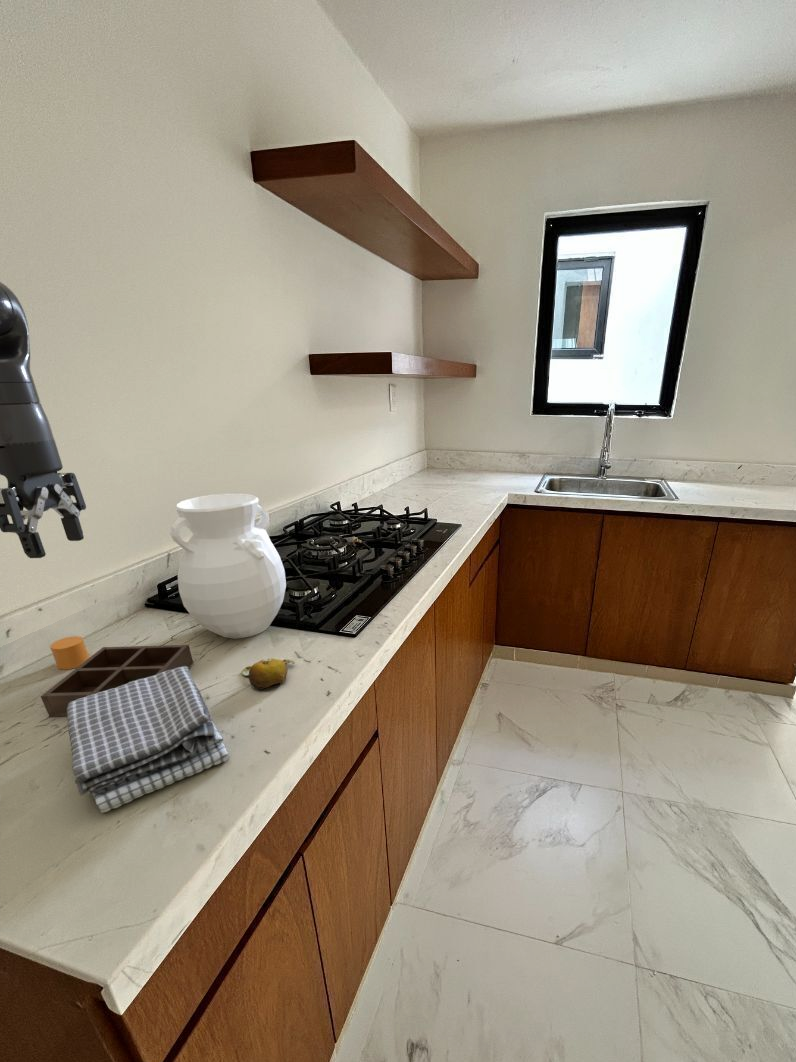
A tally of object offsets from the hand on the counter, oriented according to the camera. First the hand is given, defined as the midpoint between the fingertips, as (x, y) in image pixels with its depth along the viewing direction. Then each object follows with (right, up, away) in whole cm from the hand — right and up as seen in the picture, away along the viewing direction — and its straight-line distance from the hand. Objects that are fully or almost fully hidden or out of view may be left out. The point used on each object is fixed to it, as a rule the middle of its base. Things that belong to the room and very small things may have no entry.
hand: (57, 548), depth 77 cm
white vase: (+20, -13, +21) cm, 32 cm away
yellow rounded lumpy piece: (+31, -20, +5) cm, 38 cm away
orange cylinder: (-5, -19, +10) cm, 22 cm away
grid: (+9, -22, +2) cm, 24 cm away
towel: (+22, -28, -12) cm, 37 cm away
